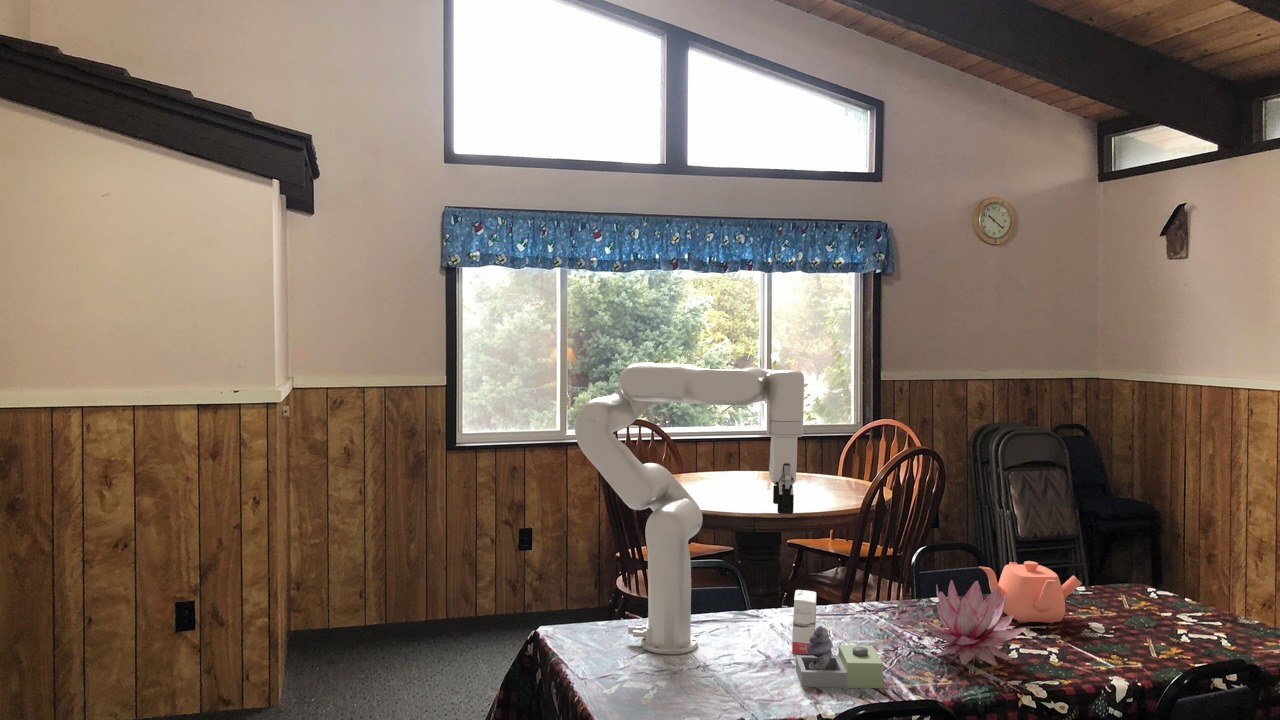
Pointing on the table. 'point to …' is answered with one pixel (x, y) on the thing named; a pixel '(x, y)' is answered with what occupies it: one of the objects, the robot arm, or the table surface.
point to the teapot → (1032, 592)
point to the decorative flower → (973, 624)
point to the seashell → (820, 648)
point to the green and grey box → (844, 669)
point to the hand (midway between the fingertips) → (782, 508)
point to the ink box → (803, 620)
